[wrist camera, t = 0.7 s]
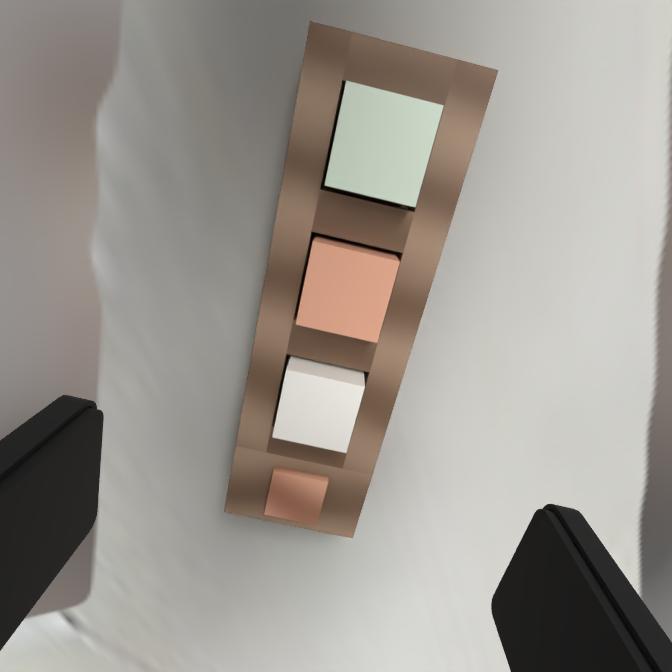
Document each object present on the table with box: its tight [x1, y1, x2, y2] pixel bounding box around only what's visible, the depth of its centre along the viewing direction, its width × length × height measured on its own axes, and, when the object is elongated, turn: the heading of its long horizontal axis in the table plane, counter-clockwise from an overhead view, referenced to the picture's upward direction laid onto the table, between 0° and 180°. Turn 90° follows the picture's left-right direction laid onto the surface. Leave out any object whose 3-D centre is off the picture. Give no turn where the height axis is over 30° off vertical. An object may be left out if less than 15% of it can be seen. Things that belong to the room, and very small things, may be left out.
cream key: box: [272, 355, 365, 453], centre depth 29 cm, size 5×5×3 cm
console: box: [224, 21, 498, 538], centre depth 29 cm, size 32×10×4 cm, turn 167°
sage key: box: [325, 81, 444, 207], centre depth 24 cm, size 5×5×3 cm
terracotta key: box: [296, 235, 400, 343], centre depth 26 cm, size 5×5×3 cm
